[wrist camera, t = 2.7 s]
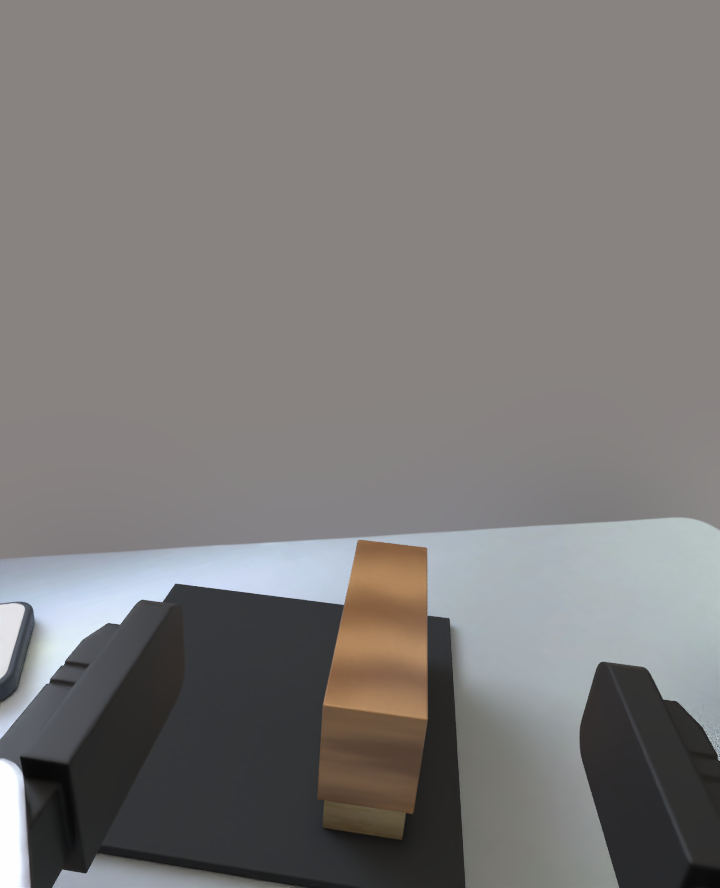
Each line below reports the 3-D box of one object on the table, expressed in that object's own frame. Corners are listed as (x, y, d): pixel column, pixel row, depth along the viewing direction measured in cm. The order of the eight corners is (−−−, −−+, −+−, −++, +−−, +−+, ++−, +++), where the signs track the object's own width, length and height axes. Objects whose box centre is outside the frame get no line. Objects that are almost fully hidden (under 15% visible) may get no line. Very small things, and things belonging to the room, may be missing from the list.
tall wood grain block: (350, 641, 41) (358, 539, 38) (413, 649, 41) (427, 547, 37) (314, 835, 28) (322, 704, 25) (408, 850, 28) (428, 719, 24)
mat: (448, 624, 44) (449, 617, 44) (464, 913, 26) (466, 905, 26) (175, 589, 46) (175, 583, 46) (6, 837, 27) (4, 829, 27)
